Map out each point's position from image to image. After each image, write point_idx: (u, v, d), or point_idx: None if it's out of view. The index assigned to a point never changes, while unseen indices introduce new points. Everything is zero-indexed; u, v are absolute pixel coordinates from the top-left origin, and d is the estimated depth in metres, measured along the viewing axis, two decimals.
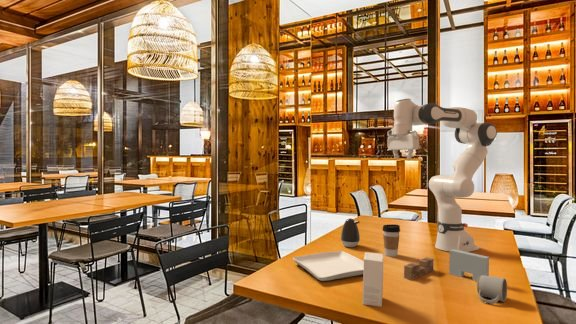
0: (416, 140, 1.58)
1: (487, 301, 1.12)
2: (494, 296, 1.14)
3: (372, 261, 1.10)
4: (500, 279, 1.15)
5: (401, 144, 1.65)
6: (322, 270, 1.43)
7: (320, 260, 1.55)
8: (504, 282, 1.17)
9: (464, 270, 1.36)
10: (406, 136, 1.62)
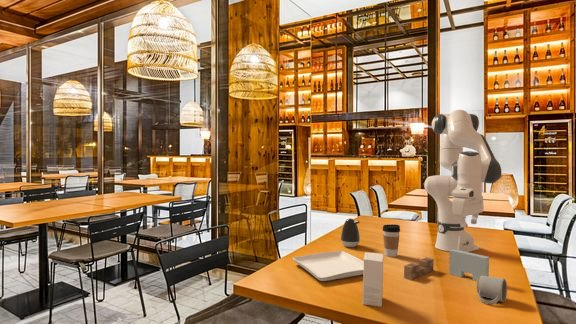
0: None
1: (487, 302, 1.12)
2: (494, 296, 1.13)
3: (372, 261, 1.10)
4: (500, 279, 1.14)
5: (475, 208, 1.35)
6: (322, 270, 1.43)
7: (320, 260, 1.55)
8: (504, 282, 1.17)
9: (464, 270, 1.36)
10: (479, 197, 1.37)
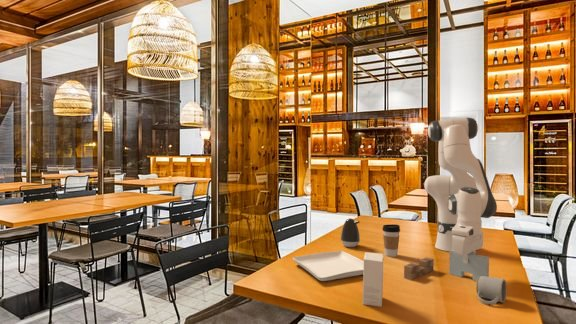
0: None
1: (486, 302, 1.12)
2: (493, 297, 1.13)
3: (372, 261, 1.10)
4: (499, 280, 1.14)
5: (475, 245, 1.35)
6: (322, 270, 1.43)
7: (320, 260, 1.55)
8: (503, 283, 1.16)
9: (464, 270, 1.36)
10: (478, 233, 1.38)
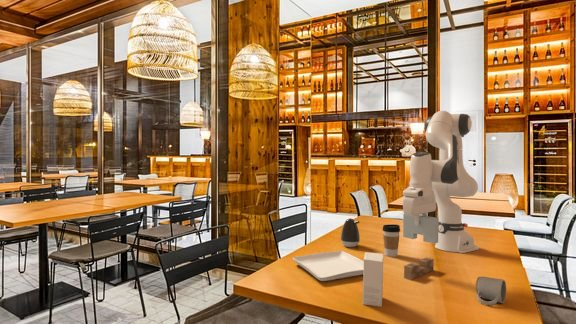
0: None
1: (486, 302, 1.11)
2: (493, 297, 1.13)
3: (372, 261, 1.10)
4: (499, 280, 1.13)
5: (426, 207, 1.39)
6: (322, 270, 1.43)
7: (320, 260, 1.55)
8: (503, 283, 1.16)
9: (416, 232, 1.40)
10: (430, 197, 1.41)
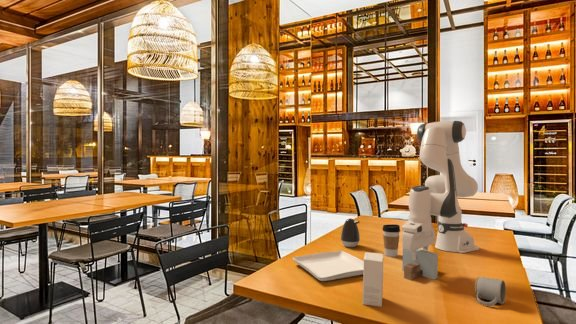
0: None
1: (485, 303, 1.11)
2: (492, 298, 1.12)
3: (372, 261, 1.10)
4: (498, 281, 1.13)
5: (425, 241, 1.40)
6: (322, 270, 1.43)
7: (320, 260, 1.55)
8: (503, 284, 1.15)
9: None
10: (429, 230, 1.42)
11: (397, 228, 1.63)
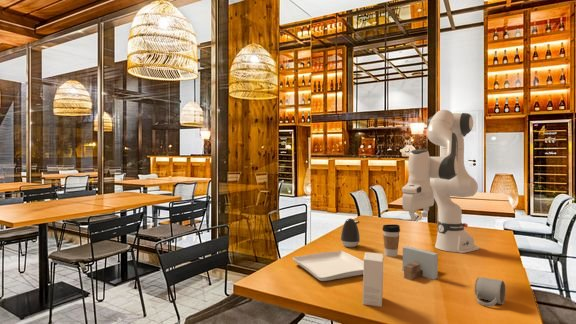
0: None
1: (484, 304, 1.10)
2: (492, 299, 1.12)
3: (372, 261, 1.10)
4: (498, 281, 1.13)
5: (424, 202, 1.44)
6: (322, 270, 1.43)
7: (320, 260, 1.55)
8: (502, 284, 1.15)
9: None
10: (428, 192, 1.46)
11: (397, 228, 1.63)
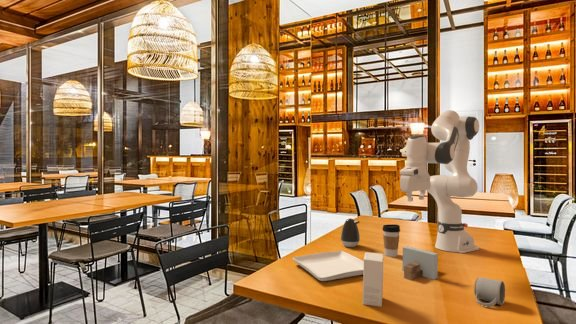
0: None
1: (484, 304, 1.10)
2: (491, 299, 1.11)
3: (372, 261, 1.10)
4: (498, 282, 1.12)
5: (421, 185, 1.53)
6: (322, 270, 1.43)
7: (320, 260, 1.55)
8: (502, 285, 1.15)
9: None
10: (425, 176, 1.55)
11: (397, 228, 1.63)
